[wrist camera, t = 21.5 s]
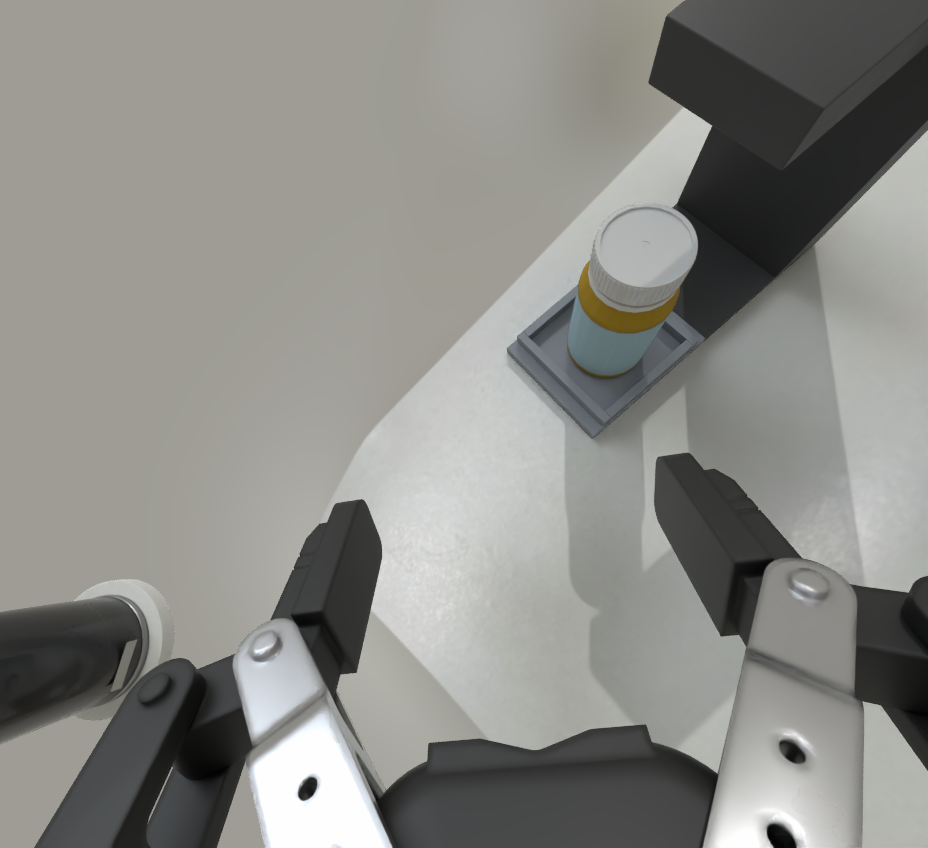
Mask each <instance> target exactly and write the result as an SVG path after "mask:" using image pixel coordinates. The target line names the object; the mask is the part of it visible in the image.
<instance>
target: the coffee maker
mask: <svg viewBox="0 0 928 848" xmlns="http://www.w3.org/2000/svg"><path fill="white" fill-rule="evenodd" d="M649 84H650V85H652V86H653V87H654V88H656V89H658V90H659V91H661V92H662V93H664V94H665V95H667V96H668V97H670V98H671V99H673V100H674V101H676V102H677V103H679V104H680V105H682V106H683V107H685V108H686V109H688V110H689V111H691V112H692V113H694V114H695V115H697V116H698V117H700V118H702V119H703V120H705V121H706V122H708V123H709V124H711V125H712V128H711V130H710V132H709V134H708V137H707V139H706V141H705V143H704V145H703V148H702V150H701V152H700V154H699V156H698V159H697V161H696V163H695V165H694V167H693V170H692V172H691V174H690V176H689V178H688V181H687V183H686V185H685V187H684V189H683V192H682V194H681V196H680V198H679V201H678V203H677V204H676V205H675V206H674V207H673V209H675V210H677V211H678V212H680V213H681V214H682V215H684V216H685V217H686V218H687V219H688V220H689V222H690V223H691V224H692V226H693V228H694V230H695V232H696V235H697V240H698V250H697V255H696V259H695V261H694V264H693V266H692V268H691V269H690V271H689V272H688V274H687V276H686V277H685V279H684V281H683V282H682V284H681V285H680V293H679V296H678V299H677V302H676V304H675V306H674V308H673V310H672V312H671V313H670V315H669V316H668V318H667V319H666V321H665V322H664V324H663V325H662V327H661V328H660V330H659V332H658V333H657V335H656V336H655V338H654V339H653V341H652V342H651V344H650V345H649V347H648V348H647V350H646V351H645V353H644V355H643V356H642V358H641V359H640V360H639V361H638V363H637V364H636V365H635V366H634V367H633V368H632V369H631V370H629V371H628V372H626V373H625V374H622V375H619V376H615V377H610V378H606V377H596V376H593V375H590V374H588V373H586V372H584V371H583V370H581V369H580V368H579V367H578V366H577V365H576V364H575V363H574V362H573V360H572V359H571V357H570V354H569V351H568V347H567V340H568V332H569V327H570V323H571V318H572V313H573V308H574V303H575V298H576V294H577V289H578V285H577V286H576V287H575V288H574V289H572V290H571V291H570V292H569V293H568V294H567V295H565V296H564V297H563V298H562V299H561V300H559V301H558V302H557V303H556V304H555V305H554V306H552V307H551V308H550V309H549V310H548V311H547V312H545V313H544V314H543V315H542V316H541V317H539V318H538V319H537V320H536V321H535V322H534V323H532V324H531V325H530V326H529V327H528V328H526V329H525V330H524V331H523V332H522V333H521V334H519V335H518V336H517V340H516V341H515V342H514V343H513V344H511V345H510V346H509V347H508V348H507V352H508V354H509V355H510V356H511V357H512V358H513V359H514V360H515V361H516V362H517V363H518V364H519V365H520V366H521V367H522V368H523V369H524V370H525V371H526V372H527V373H528V374H529V375H530V376H531V377H532V378H533V379H534V380H535V381H536V382H537V383H538V384H539V385H540V386H541V387H542V388H543V389H544V390H545V391H546V392H547V393H548V394H549V395H550V396H551V397H552V398H553V399H554V400H555V401H556V402H557V403H558V404H559V405H560V406H561V407H562V408H563V409H564V410H565V411H566V412H567V413H568V414H569V415H570V416H571V417H572V418H573V419H574V420H575V421H576V422H577V423H578V424H579V426H580V427H581V428H582V429H583V430H584V431H585V432H586V433H587V434H588V435H589V436H590V437H591V438H594V437H595V436H596V435H598V434H599V433H600V432H601V431H602V430H603V429H604V428H605V427H607V426H608V425H609V424H610V423H611V422H612V421H613V420H615V419H616V418H617V417H618V416H619V415H620V414H621V413H623V412H624V411H625V410H626V409H627V408H628V407H629V406H631V405H632V404H633V403H634V402H635V401H636V400H637V399H639V398H640V397H641V396H642V395H643V394H644V393H645V392H647V391H648V390H649V389H650V388H651V387H652V386H653V385H655V384H656V383H657V382H658V381H659V380H660V379H661V378H662V377H664V376H665V375H666V374H667V373H668V372H669V371H670V370H672V369H673V368H674V367H675V366H676V365H677V364H678V363H680V362H681V361H682V360H683V359H684V358H685V357H686V356H688V355H689V354H690V353H691V352H692V351H693V350H694V349H696V348H697V347H698V346H699V345H700V344H701V343H702V342H704V341H705V340H706V339H707V338H708V337H709V336H710V335H711V334H713V333H714V332H715V331H716V330H717V329H718V328H719V327H721V326H722V325H723V324H724V323H725V322H726V321H727V320H729V319H730V318H731V317H732V316H733V315H734V314H735V313H737V312H738V311H739V310H740V309H741V308H742V307H743V306H745V305H746V304H747V303H748V302H749V301H750V300H751V299H753V298H754V297H755V296H756V295H757V294H758V293H759V292H761V291H762V290H763V289H764V288H765V287H766V286H767V285H768V284H770V283H771V282H772V281H773V280H774V279H775V278H776V277H778V276H779V275H780V274H781V273H782V272H783V271H784V270H786V269H787V268H788V267H789V266H790V265H791V264H792V263H794V262H795V261H796V260H797V259H798V258H799V257H800V256H802V255H803V254H804V253H805V252H806V251H807V250H808V249H810V248H811V247H812V246H813V245H814V244H815V243H816V242H817V241H818V240H819V239H820V238H821V237H822V236H823V235H824V234H825V233H826V232H827V231H828V230H829V229H830V228H831V227H832V226H833V225H834V224H835V223H836V222H837V221H838V220H839V219H840V218H841V217H842V216H843V215H844V214H845V213H846V212H847V211H848V210H849V209H850V208H851V207H852V206H853V205H854V204H855V203H856V202H857V201H858V200H859V199H860V198H861V197H862V196H863V195H864V194H865V193H866V192H867V191H868V190H869V189H870V188H871V187H872V186H873V185H874V184H875V183H876V182H877V181H878V180H879V179H880V178H881V177H882V176H883V175H884V174H885V173H886V172H887V171H888V170H889V169H890V168H891V167H892V166H893V165H894V164H895V163H896V162H897V161H898V159H899V158H900V157H901V156H902V155H903V154H904V153H905V152H906V151H907V150H908V149H909V148H910V147H911V146H912V145H913V144H914V143H915V142H916V141H917V140H918V139H919V138H920V137H921V136H922V135H923V134H924V133H925V132H926V131H927V130H928V0H685V1H684V2H682V3H681V4H680V5H679V6H678V7H676V8H675V9H674V10H673V11H671V12H670V13H669V14H668V15H667V16H666V19H665V22H664V26H663V30H662V33H661V37H660V41H659V45H658V48H657V52H656V56H655V60H654V63H653V67H652V71H651V75H650V78H649Z"/></svg>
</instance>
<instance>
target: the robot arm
mask: <svg viewBox="0 0 928 848" xmlns="http://www.w3.org/2000/svg"><path fill="white" fill-rule="evenodd" d="M654 506H655V512H656V516H657V519H658V522H659V524H660V526H661V528H662V530H663V531H664V533H665V535H666V537H667V539H668V541H669V542H670V544H671V546H672V548H673V550H674V551H675V553H676V555H677V557H678V559H679V561H680V562H681V564H682V566H683V568H684V570H685V572H686V573H687V575H688V577H689V579H690V581H691V582H692V584H693V586H694V588H695V590H696V592H697V593H698V595H699V597H700V599H701V601H702V603H703V604H704V606H705V608H706V610H707V612H708V613H709V615H710V617H711V619H712V621H713V623H714V624H715V626H716V628H717V630H718V632H719V634H720V635H721V636H731V635H740V637H741V638H742V640H743V642H744V644H745V645H746V652H745V656H744V660H743V665H742V669H741V674H740V678H739V682H738V687H737V691H736V696H735V700H734V704H733V709H732V713H731V718H730V722H729V727H728V731H727V735H726V740H725V744H724V748H723V753H722V757H721V761H720V766H719V770H718V774H717V773H716V772H714V771H713V770H712V769H710V768H709V767H707V766H706V765H704V764H703V763H701V762H699V761H698V760H696V759H694V758H693V757H691V756H689V755H687V754H685V753H682V752H680V751H678V750H676V749H673V748H670V747H667V746H664V745H661V744H657V743H652V742H651V739H650V736H649V732H648V729H647V726H646V725H634V726H623V727H611V728H599V729H590V730H587V731H585V732H583V733H580V734H578V735H575V736H573V737H570V738H568V739H565V740H563V741H561V742H558V743H556V744H553V745H551V746H548V747H546V748H543V749H540V750H529V749H524V748H520V747H515V746H511V745H506V744H502V743H497V742H493V741H488V740H484V739H471V740H459V741H447V742H435V743H429V745H428V760H427V762H424V763H422V764H420V765H418V766H416V767H415V768H413V769H411V770H410V771H408V772H407V773H406V774H404V775H403V776H402V777H400V778H399V779H398V780H397V781H396V782H395V783H393V784H392V785H391V786H390V787H389V789H387V790H386V788H385V786H384V784H383V783H382V781H381V779H380V777H379V775H378V773H377V772H376V770H375V768H374V766H373V765H372V762H371V760H370V758H369V756H368V754H367V752H366V750H365V748H364V746H363V744H362V742H361V740H360V737H359V735H358V733H357V731H356V729H355V727H354V725H353V723H352V721H351V718H350V716H349V714H348V712H347V710H346V708H345V706H344V704H343V702H342V700H341V697H340V696H339V693H338V692H337V690H336V689H337V685H338V681H339V677H340V674H349V673H356V672H357V668H358V664H359V659H360V655H361V650H362V646H363V641H364V636H365V632H366V628H367V623H368V619H369V614H370V610H371V605H372V601H373V596H374V592H375V587H376V583H377V578H378V574H379V569H380V565H381V560H382V545H381V540H380V537H379V534H378V532H377V529H376V527H375V524H374V522H373V519H372V516H371V514H370V511H369V509H368V506H367V504H366V502H365V501H364V500H362V499H361V500H354V501H347V502H340V503H336V504H335V505H334V507H333V509H332V512H331V514H330V517H329V519H328V522H327V523H322V524H319V525H318V526H317V527H316V528H315V529H314V531H313V532H312V533H311V534H310V535H309V536H308V537H307V538H306V541H305V543H304V545H303V548H302V550H301V552H300V557H298V559H297V561H296V564H295V566H294V570H292V573H291V575H290V577H289V579H288V582H287V584H286V586H285V588H284V591H283V593H282V595H281V597H280V600H279V602H278V604H277V606H276V609H275V611H274V613H273V616H272V618H271V620H270V621H268V622H266V623H264V624H262V625H260V626H258V627H257V628H256V629H254V630H253V631H252V632H251V633H250V634H248V635H247V637H246V638H245V639H244V640H243V641H242V642H241V644H240V645H239V647H238V649H237V651H236V653H235V654H233V655H231V656H229V657H226V658H224V659H222V660H219V661H217V662H214V663H212V664H209V665H207V666H205V667H202V668H200V669H196V667H195V666H194V665H193V664H192V663H191V662H190V661H189V660H187V659H183V658H177V659H172V660H169V661H166V662H164V663H162V664H160V665H158V666H156V667H155V668H153V669H152V670H150V671H149V672H148V673H146V674H145V675H144V676H143V677H142V678H141V679H140V680H139V681H138V682H137V683H136V684H135V685H134V686H133V687H132V688H131V690H130V691H129V692H128V694H127V695H126V697H125V699H124V700H123V702H122V704H121V705H120V707H119V708H118V710H117V712H116V713H115V715H114V717H113V718H112V720H111V722H110V724H109V725H108V727H107V728H106V730H105V732H104V733H103V735H102V737H101V738H100V740H99V742H98V743H97V745H96V747H95V748H94V750H93V751H92V753H91V755H90V756H89V758H88V760H87V762H86V763H85V765H84V766H83V768H82V770H81V771H80V773H79V775H78V776H77V778H76V780H75V781H74V783H73V785H72V786H71V788H70V790H69V791H68V793H67V794H66V796H65V798H64V799H63V801H62V803H61V805H60V806H59V808H58V809H57V811H56V813H55V814H54V816H53V818H52V819H51V821H50V823H49V824H48V826H47V828H46V829H45V831H44V833H43V834H42V836H41V837H40V839H39V841H38V842H37V844H36V846H35V847H34V848H217V845H218V842H219V839H220V836H221V833H222V830H223V827H224V824H225V821H226V818H227V815H228V812H229V808H230V805H231V803H232V800H233V797H234V793H235V791H236V787H237V784H238V782H239V779H240V776H241V772H242V769H243V766H244V763H245V760H246V767H247V772H248V776H249V781H250V785H251V789H252V794H253V798H254V802H255V806H256V811H257V815H258V820H259V824H260V828H261V832H262V837H263V841H264V846H265V848H862V821H863V756H864V708H863V703H862V701H864V702H868V703H873V704H878V705H881V706H882V707H883V709H884V710H885V711H886V713H887V714H888V716H889V717H890V718H891V720H892V721H893V723H894V724H895V726H896V727H897V728H898V730H899V731H900V733H901V734H902V735H903V737H904V738H905V740H906V741H907V742H908V744H909V745H910V747H911V748H912V749H913V751H914V752H915V754H916V755H917V756H918V758H919V759H920V761H921V762H922V763H923V765H924V766H925V768H926V769H927V770H928V576H926V577H922V578H920V579H918V580H917V581H915V583H914V584H913V585H912V587H911V589H910V591H909V593H906V592H899V591H891V590H884V589H877V588H869V587H862V586H856V585H852V584H849V583H848V582H847V581H846V580H845V579H844V578H843V577H842V576H841V575H839V574H838V573H836V572H835V571H834V570H832V569H830V568H828V567H826V566H824V565H822V564H820V563H817V562H814V561H811V560H807V559H803V558H802V557H801V556H800V555H799V554H798V553H797V552H796V551H795V549H794V548H793V547H792V546H791V545H790V544H789V543H788V541H787V540H786V539H785V538H784V537H783V536H782V535H781V533H780V532H779V531H778V530H777V529H776V528H775V526H774V525H773V524H772V523H771V522H770V521H769V520H768V518H767V517H766V516H765V515H764V514H763V513H762V512H761V510H758V507H757V506H756V505H755V504H754V502H753V501H752V500H751V499H750V498H748V497H747V494H746V493H745V492H744V491H743V490H742V489H741V487H740V486H739V485H738V484H737V483H736V482H735V481H734V480H733V479H731V478H730V477H728V476H726V475H724V474H723V473H721V472H719V471H718V470H716V469H710V470H704V469H703V468H702V467H701V466H700V464H699V463H698V462H697V461H696V459H695V458H694V457H693V456H692V455H691V454H690V453H682V454H675V455H668V456H661V457H658V458H657V460H656V470H655V493H654ZM148 648H149V630H148V625H147V621H146V618H145V616H144V614H143V612H142V611H141V609H140V608H139V607H138V605H137V604H136V603H135V602H133V601H132V600H130V599H129V598H127V597H124V596H121V595H104V596H99V597H95V598H92V599H85V600H78V601H72V602H65V603H58V604H51V605H44V606H37V607H31V608H24V609H18V610H10V611H4V612H0V744H2V743H5V742H8V741H10V740H12V739H15V738H18V737H20V736H23V735H25V734H28V733H30V732H33V731H35V730H38V729H40V728H43V727H45V726H48V725H50V724H52V723H55V722H58V721H60V720H63V719H65V718H68V717H70V716H73V715H75V714H78V713H80V712H83V711H85V710H88V709H90V708H93V707H97V706H101V705H104V704H106V703H109V702H111V701H113V700H115V699H117V698H119V697H120V696H121V695H123V694H124V693H125V692H126V691H127V690H128V689H129V688H130V687H131V686H132V685H133V684H134V682H135V681H136V679H137V678H138V676H139V675H140V673H141V671H142V669H143V666H144V664H145V661H146V658H147V654H148ZM171 767H173V769H172V772H171V774H170V776H169V778H168V781H167V783H166V785H165V787H164V790H163V792H162V794H161V796H160V798H159V801H158V803H157V805H156V807H155V810H154V812H153V814H152V816H151V818H150V820H149V823H148V819H149V816H150V814H151V811H152V809H153V807H154V805H155V802H156V800H157V798H158V796H159V794H160V791H161V789H162V787H163V785H164V783H165V780H166V778H167V776H168V774H169V771H170V769H171ZM147 823H148V825H147Z"/></svg>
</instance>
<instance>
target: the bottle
mask: <svg viewBox="0 0 928 848" xmlns="http://www.w3.org/2000/svg"><path fill="white" fill-rule="evenodd" d="M697 250H698V240H697V235H696V232H695V230H694V228H693V226H692V224H691V223H690V222H689V220H688V219H687V218H686V217H685V216H684V215H682V214H681V213H680V212H678V211H677V210H675V209H673V208H671V207H668V206H665V205H662V204H657V203H637V204H632V205H628V206H626V207H623V208H621V209H619V210H617V211H616V212H614V213H613V214H611V215H610V216H609V217H608V218H607V219H606V220H605V221H604V222H603V224H602V225H601V226H600V229H598V232H597V234H596V237H595V240H594V244H593V249H592V253H591V258H590V261H589V262H588V263H587V264H586V265H585V267H584V269H583V272H582V274H581V277H580V280H579V284H578V289H577V294H576V298H575V303H574V308H573V313H572V318H571V323H570V327H569V332H568V340H567V347H568V351H569V354H570V357H571V359H572V360H573V362H574V363H575V364H576V365H577V366H578V367H579V368H580V369H581V370H583V371H584V372H586V373H588V374H590V375H593V376H596V377H606V378H610V377H615V376H619V375H622V374H625V373H626V372H628V371H629V370H631V369H632V368H633V367H634V366H635V365H636V364H637V363H638V361H639V360H640V359H641V358H642V356H643V355H644V353H645V351H646V350H647V348H648V347H649V345H650V344H651V342H652V341H653V339H654V338H655V336H656V335H657V333H658V332H659V330H660V328H661V327H662V325H663V324H664V322H665V321H666V319H667V318H668V316H669V315H670V313H671V312H672V310H673V308H674V306H675V304H676V302H677V299H678V296H679V293H680V285H681V284H682V282H683V281H684V279H685V277H686V276H687V274H688V272H689V271H690V269H691V268H692V266H693V264H694V261H695V259H696V255H697Z"/></svg>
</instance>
